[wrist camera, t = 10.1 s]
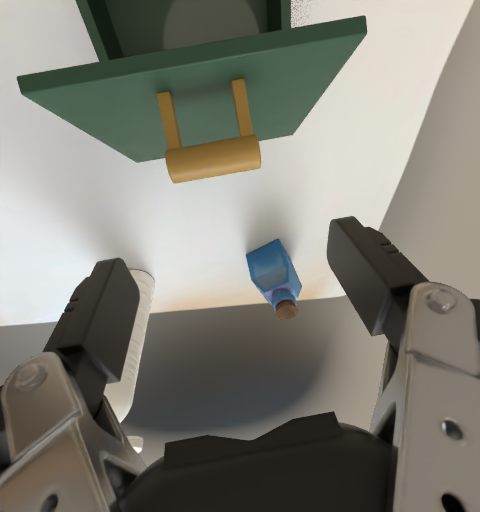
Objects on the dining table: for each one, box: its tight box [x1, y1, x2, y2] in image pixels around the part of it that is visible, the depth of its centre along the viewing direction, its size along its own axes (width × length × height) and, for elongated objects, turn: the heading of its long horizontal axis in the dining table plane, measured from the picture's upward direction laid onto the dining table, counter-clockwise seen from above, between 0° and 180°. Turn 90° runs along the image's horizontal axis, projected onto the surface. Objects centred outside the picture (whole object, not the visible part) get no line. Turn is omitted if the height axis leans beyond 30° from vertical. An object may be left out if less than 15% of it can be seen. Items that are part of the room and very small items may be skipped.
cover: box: [17, 16, 367, 183], centre depth 19 cm, size 14×16×5 cm
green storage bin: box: [76, 0, 291, 62], centre depth 24 cm, size 14×16×6 cm
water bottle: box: [104, 270, 155, 453], centre depth 35 cm, size 9×6×25 cm
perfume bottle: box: [246, 239, 302, 320], centre depth 40 cm, size 6×6×12 cm
